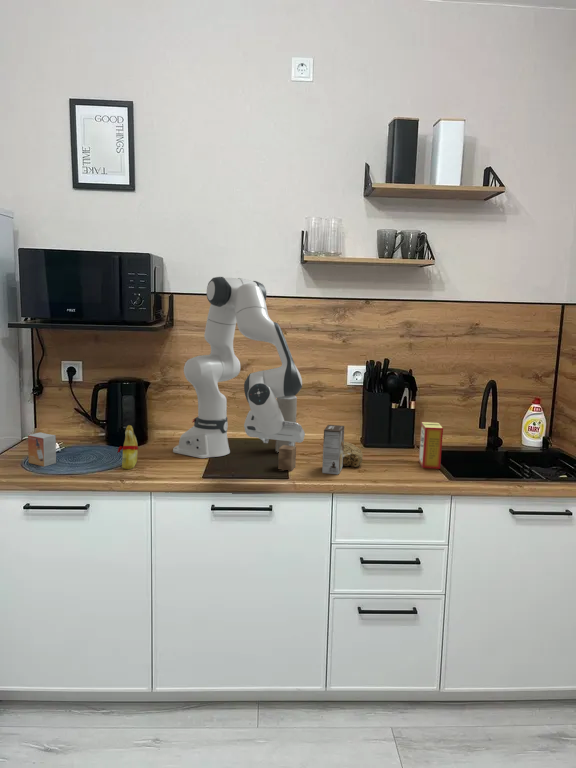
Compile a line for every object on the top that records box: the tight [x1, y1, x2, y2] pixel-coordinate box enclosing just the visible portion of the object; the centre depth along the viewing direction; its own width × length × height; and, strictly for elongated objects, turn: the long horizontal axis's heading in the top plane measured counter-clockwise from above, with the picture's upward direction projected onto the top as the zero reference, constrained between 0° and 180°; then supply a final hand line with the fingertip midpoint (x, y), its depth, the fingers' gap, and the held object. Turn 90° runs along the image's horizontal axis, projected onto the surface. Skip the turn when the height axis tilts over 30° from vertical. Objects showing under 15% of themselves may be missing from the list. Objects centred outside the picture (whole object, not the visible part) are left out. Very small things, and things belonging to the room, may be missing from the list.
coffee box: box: [321, 424, 345, 475], centre depth 210 cm, size 9×6×16 cm
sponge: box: [343, 441, 364, 468], centre depth 224 cm, size 13×8×20 cm
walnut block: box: [277, 445, 297, 472], centre depth 211 cm, size 5×5×8 cm
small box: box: [27, 432, 57, 467], centre depth 208 cm, size 8×6×10 cm
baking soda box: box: [418, 421, 444, 470], centre depth 221 cm, size 10×6×16 cm
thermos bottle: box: [275, 395, 298, 453], centre depth 232 cm, size 8×8×28 cm
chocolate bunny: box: [116, 424, 139, 470], centre depth 208 cm, size 7×11×15 cm, turn 4°
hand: (279, 442), depth 201 cm, fingers open, 8 cm apart
